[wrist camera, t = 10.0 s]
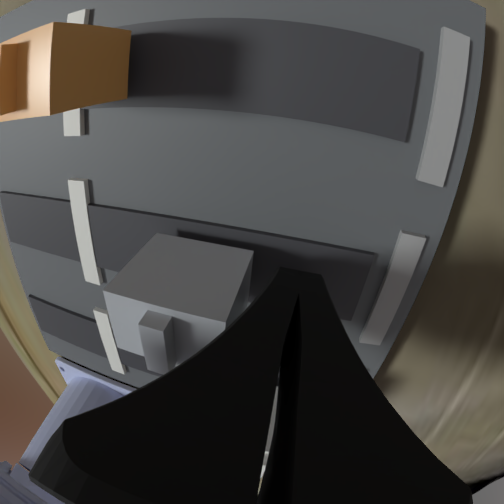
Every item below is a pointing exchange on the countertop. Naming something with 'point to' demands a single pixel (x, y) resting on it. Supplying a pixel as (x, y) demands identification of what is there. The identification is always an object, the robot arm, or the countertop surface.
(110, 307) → the cube with peg
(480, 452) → the countertop surface
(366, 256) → the control board
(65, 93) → the orange slider knob
